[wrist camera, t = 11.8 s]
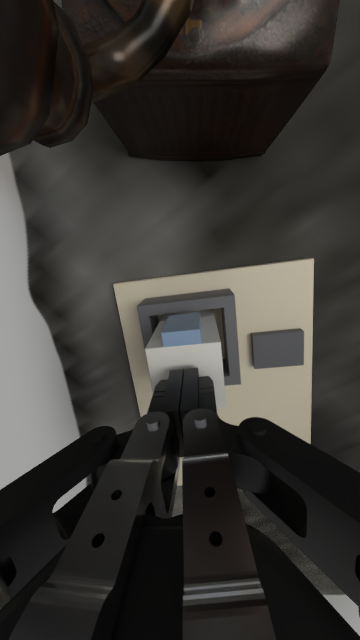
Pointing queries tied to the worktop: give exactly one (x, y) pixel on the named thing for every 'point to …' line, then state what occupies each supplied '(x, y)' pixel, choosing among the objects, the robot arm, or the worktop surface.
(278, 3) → the manual coffee grinder
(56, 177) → the worktop surface
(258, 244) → the worktop surface
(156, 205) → the worktop surface
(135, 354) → the board
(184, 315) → the plug
